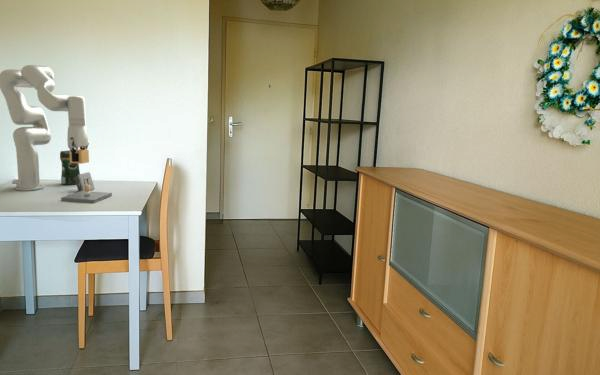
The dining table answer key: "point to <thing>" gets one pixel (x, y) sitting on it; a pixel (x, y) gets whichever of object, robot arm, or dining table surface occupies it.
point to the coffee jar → (68, 169)
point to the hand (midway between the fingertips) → (79, 160)
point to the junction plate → (86, 196)
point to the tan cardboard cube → (81, 156)
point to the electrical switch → (84, 181)
